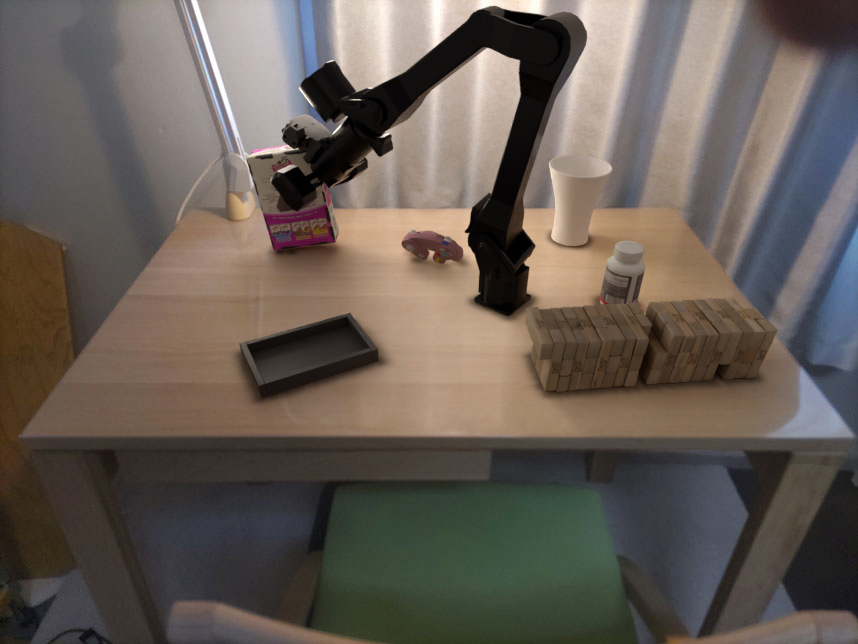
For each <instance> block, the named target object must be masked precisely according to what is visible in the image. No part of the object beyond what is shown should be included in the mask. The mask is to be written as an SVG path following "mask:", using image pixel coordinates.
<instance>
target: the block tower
mask: <svg viewBox="0 0 858 644" xmlns="http://www.w3.org/2000/svg"><path fill="white" fill-rule="evenodd" d="M524 323H525V326H526V329H527V331H528V334H529V336H530V339H531V342H532V346H531V353H530V359H531V361H532V363H533V366H534V367H535V370H536V373H537V375H538V378H539V381H540V384H541V386H542V389H543V391H545V392H553V391H554V392H556V393H557V392H558V393H559V392H567V391H577V390H590V389H601V388H603V389H605V388H607V389H608V388H612V387H622V386H624V387H634V386H636V384H637V381H638V377H639V373H640V376H641V377H642V379H643V381H644V383H645V384H646V385H657V384H667V383H670V384H677V383H678V384H679V383H689V382H691V383H692V382H693V383H695V382H701V381H712V380H713V379H714V376H715V374H716V372H717V373H718V375H719V376H720V378H722V380H733V379H744V378H745V379H755V378H757V376H758V374H759V371H760V369H761V367H762V365H763V363H764V361H765V358H766V356H767V354H768V352H769V350H770V348H771V346H772V343H773V341H774V340H775V337H776V335H777V333H778V329H777V328H776V327H775V325H774V324H773V323H771V322H770V321H769V319H767V318H765V316H764V315H763V314H762V313H761V312H760V311H759V310H758V309H757V308H756V307H743V306H742V305H741V304H740V303H739V302H738V301H737V300H736V299H735V298H734V297H732V296H731V297H724V298H711V297H710V298H707V297H706V298H702V299H701V298H696V299H692V300H691V299H681V300H671V301H669V300H661V301H649V302H648V305H647V308H646V311H645V312H644V310H643V309H642V308H641V306H640V305H639V303H638V302H637V303H627V304H616V305H615V304H606V305H604V304H600V303H598V304H593V305H592V304H590V305H582V306H571V307H570V306H562V307H549V308H539V307H538V306H527V308H526V314H525V321H524Z"/></svg>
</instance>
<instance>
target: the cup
mask: <svg viewBox="0 0 858 644" xmlns="http://www.w3.org/2000/svg"><path fill="white" fill-rule="evenodd" d="M548 167H549V172H550V178H551V183H552V189H553V195H554V221H553V222H554V223H553V226H552V230H551V234H550V237H551V239H552V240H553V241H554V242H555V243H557V244H559V245H562V246H566V247H579V246H583V245H585V244H587V243H588V241H589V230H590V225H591V219H592V215H593V213H594V210H595V207H596V204H597V201H598V199H599V197H600V195H601V193H602V191H603V190H604V188H605V186H606V183H607V182H608V179H609V178H610V176H611V174H612V173H613V171H614V168H613V166H612V164H611V163H609V162H608V161H606V160H605V159H601V158H598V157H594V156H590V155H582V154H567V155H560V156H557V157H554V158H552V159H551V160H550V161H549V162H548Z"/></svg>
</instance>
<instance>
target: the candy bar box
mask: <svg viewBox="0 0 858 644" xmlns="http://www.w3.org/2000/svg"><path fill="white" fill-rule="evenodd" d="M305 154H306V153H304V152H302V151H301V150H300V149H298V148H297V149H293V148H291V147H290V146H289V145H287V144H286V145H279V146H273V147H266V148H260V149H253V150H252V151H251V152H250V154H249V155H248V156H247V157H246V159H245V160H246V163H247V166H248V171H249V173H250V176H251V179H252V183H253V186H254V188H255V193H256V196H257V199H258V203H259V207H260V209H261V214H262V216H263V219H264V223H265V227H266V230H267V233H268V237H269V240H270V243H271V247H272V250H273V251H275V252H276V251H282V250H283V251H284V250H291V249H299V248H306V247H314V246H320V245H328V244H329V245H330V244H335V243H337V239H338V236H339V233H340V230H339V225H338V221H337V216H336V213H335V207H334V204H333V201H332V196H331V192H330V188H328V186H327V185H326V184H324V185H322V186H320V187H319V188H317V189H316V192H317V198H316V199H315V200H314V201H313V202H312V203H311V204H310V205H308V206H306V207H305V208H303V209H301V210H300V211H298V212H297V211H294V210H290V211H285V212H280V211H279V210H278V209H277V207H276V206H277V203H278V199H279V196H280V194H279V192H278V191H277V190H276V189H275V187H274V186H273V185H272V184H271V177H272V176H273V175H274V174H275V173H276V172H277V171H279V170H281V169H283V168H285V167H287V166H289V165H296V166H298V167H299V168H300V169H301V171H302V172H303V173H304V175H305V176H306V175H308V174H310V173H312V170H311V168H310V166H311V165H310V163H309V164H307V163H306V161H305V160H304V159H303V158H302V157H303V156H304V155H305ZM317 180H319V179H317ZM317 180H316V181H317ZM314 182H315V181H314ZM312 183H313V182H312ZM312 183H311V184H312Z"/></svg>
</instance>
